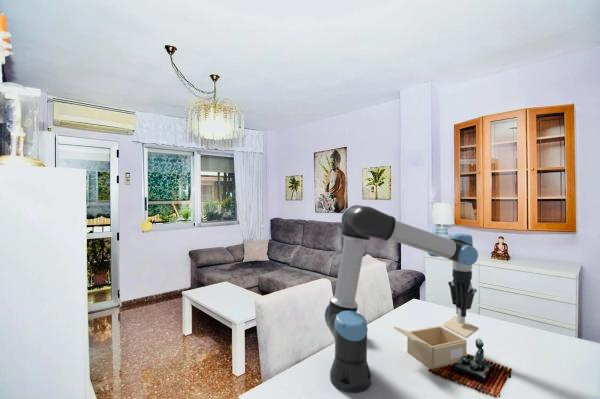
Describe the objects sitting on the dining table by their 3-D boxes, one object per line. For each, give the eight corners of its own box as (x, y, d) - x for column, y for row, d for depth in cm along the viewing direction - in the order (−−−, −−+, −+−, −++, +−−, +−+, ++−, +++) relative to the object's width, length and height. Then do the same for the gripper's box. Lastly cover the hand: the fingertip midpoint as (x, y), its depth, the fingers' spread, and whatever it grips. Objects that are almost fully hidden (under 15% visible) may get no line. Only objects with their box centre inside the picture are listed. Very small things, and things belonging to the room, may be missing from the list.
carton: (433, 371, 116) (433, 348, 116) (406, 351, 131) (406, 331, 131) (467, 363, 122) (468, 341, 122) (438, 344, 137) (438, 325, 137)
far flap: (466, 337, 124) (478, 327, 126) (442, 324, 136) (454, 316, 138) (466, 338, 124) (478, 329, 126) (443, 325, 136) (454, 317, 138)
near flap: (428, 346, 118) (413, 341, 115) (406, 332, 129) (393, 327, 127) (428, 344, 118) (414, 339, 115) (407, 331, 129) (394, 326, 127)
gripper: (481, 272, 126) (480, 328, 126) (456, 265, 138) (455, 316, 139) (468, 273, 124) (467, 330, 124) (443, 266, 136) (442, 318, 136)
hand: (461, 322), depth 131 cm, fingers closed
